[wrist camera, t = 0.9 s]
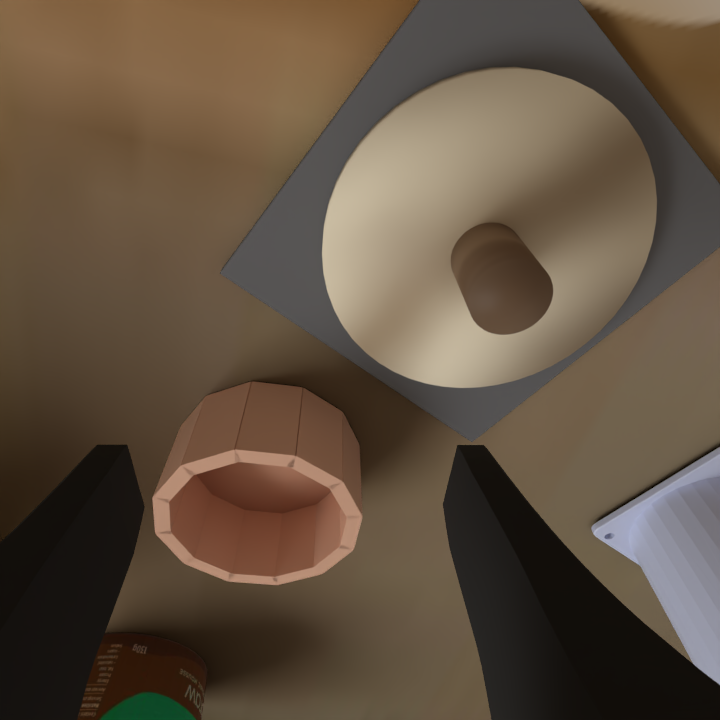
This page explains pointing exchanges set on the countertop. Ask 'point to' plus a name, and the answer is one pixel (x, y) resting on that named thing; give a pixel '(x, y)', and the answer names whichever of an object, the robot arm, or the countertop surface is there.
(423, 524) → the countertop surface
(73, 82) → the countertop surface
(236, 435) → the bowl
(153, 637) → the food container
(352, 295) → the cover
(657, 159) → the mat
